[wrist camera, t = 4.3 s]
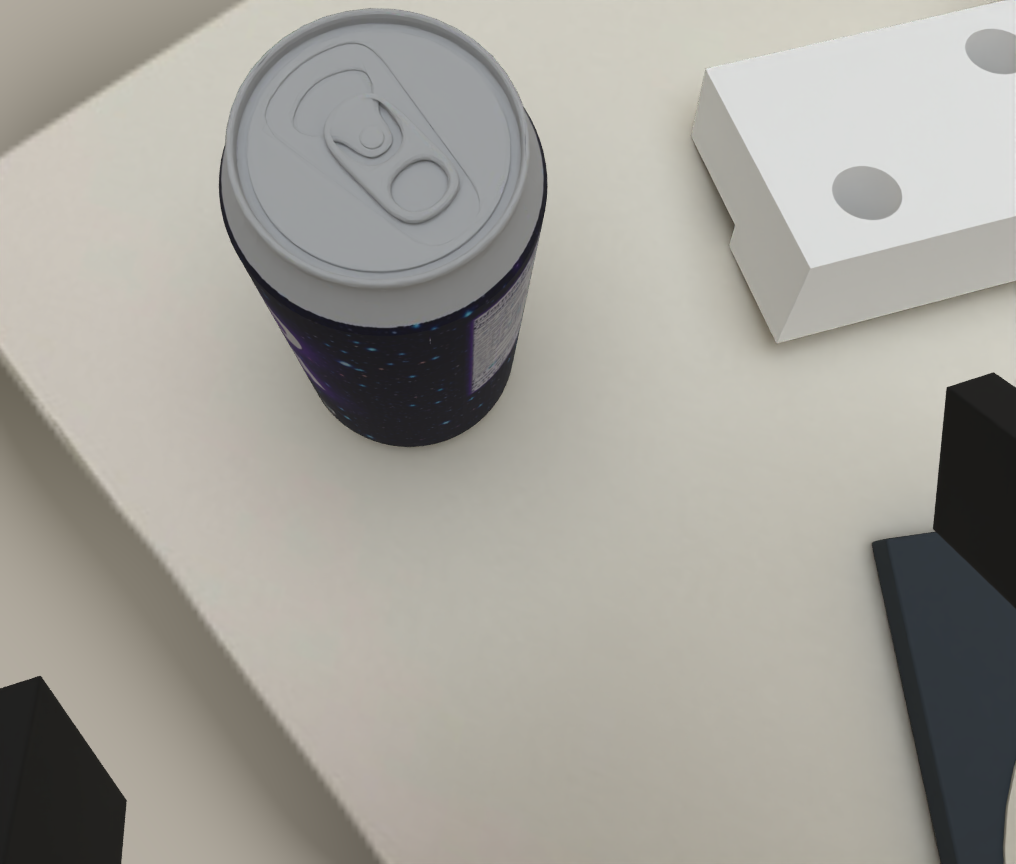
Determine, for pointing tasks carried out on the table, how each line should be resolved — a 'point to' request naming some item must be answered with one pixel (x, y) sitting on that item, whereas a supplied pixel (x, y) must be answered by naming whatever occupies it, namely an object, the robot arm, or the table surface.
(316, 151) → the beverage can
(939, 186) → the bracket
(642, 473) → the table surface
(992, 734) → the desk pad
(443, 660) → the table surface
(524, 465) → the table surface
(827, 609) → the table surface
